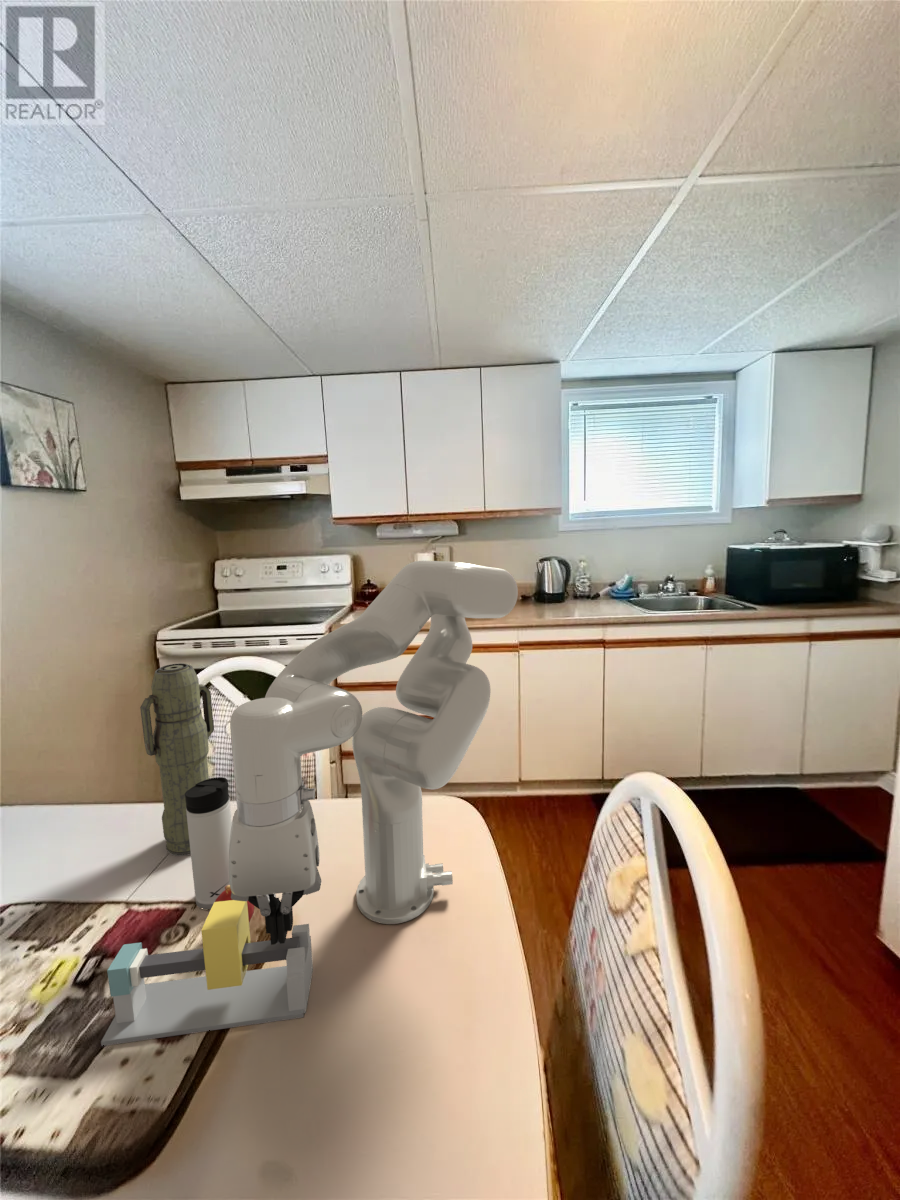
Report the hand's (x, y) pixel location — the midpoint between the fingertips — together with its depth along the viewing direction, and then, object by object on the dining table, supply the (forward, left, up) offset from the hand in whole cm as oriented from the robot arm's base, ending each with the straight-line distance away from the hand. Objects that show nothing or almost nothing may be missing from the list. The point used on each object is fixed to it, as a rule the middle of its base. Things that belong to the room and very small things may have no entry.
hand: (280, 934), depth 61 cm
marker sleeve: (+6, 0, -4) cm, 8 cm away
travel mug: (+14, -19, -9) cm, 26 cm away
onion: (+9, -11, -9) cm, 17 cm away
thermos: (+24, -35, -9) cm, 44 cm away
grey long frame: (+8, 0, -9) cm, 12 cm away
